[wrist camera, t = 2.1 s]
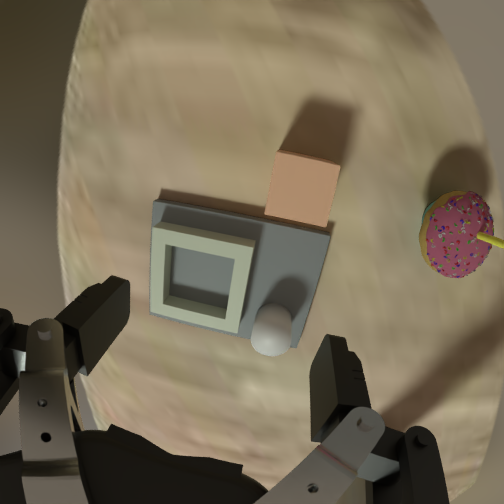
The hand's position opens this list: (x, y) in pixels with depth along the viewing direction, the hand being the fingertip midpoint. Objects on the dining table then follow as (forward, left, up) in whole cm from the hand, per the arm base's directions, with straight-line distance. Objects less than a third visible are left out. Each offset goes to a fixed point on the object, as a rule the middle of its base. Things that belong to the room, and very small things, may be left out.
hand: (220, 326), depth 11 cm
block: (-3, -4, -20) cm, 20 cm away
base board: (+2, +8, -20) cm, 21 cm away
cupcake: (-19, -3, -20) cm, 27 cm away
